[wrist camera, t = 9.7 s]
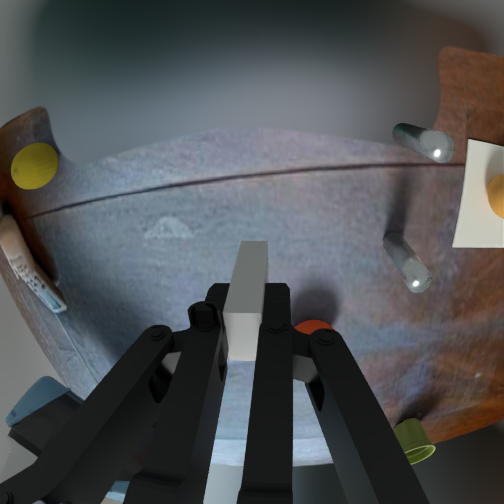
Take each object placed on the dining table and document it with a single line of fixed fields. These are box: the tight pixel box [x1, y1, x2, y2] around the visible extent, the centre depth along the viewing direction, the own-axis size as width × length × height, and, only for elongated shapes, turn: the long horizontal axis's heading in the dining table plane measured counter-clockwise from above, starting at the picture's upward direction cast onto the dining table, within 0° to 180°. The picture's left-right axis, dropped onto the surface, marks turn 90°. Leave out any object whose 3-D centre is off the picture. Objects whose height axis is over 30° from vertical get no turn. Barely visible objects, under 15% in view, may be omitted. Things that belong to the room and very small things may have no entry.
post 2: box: [383, 231, 432, 293], centre depth 30 cm, size 3×3×9 cm
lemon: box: [11, 143, 58, 189], centre depth 29 cm, size 6×6×8 cm
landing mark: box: [452, 139, 504, 248], centre depth 30 cm, size 14×14×1 cm
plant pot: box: [394, 418, 435, 464], centre depth 49 cm, size 9×9×9 cm
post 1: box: [392, 123, 454, 163], centre depth 24 cm, size 3×3×9 cm
